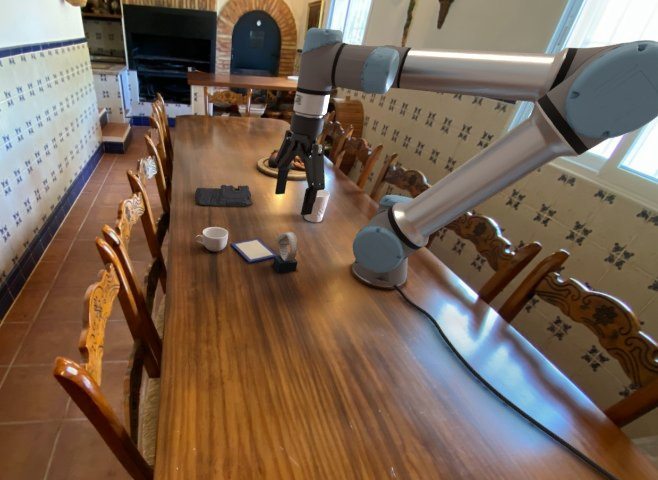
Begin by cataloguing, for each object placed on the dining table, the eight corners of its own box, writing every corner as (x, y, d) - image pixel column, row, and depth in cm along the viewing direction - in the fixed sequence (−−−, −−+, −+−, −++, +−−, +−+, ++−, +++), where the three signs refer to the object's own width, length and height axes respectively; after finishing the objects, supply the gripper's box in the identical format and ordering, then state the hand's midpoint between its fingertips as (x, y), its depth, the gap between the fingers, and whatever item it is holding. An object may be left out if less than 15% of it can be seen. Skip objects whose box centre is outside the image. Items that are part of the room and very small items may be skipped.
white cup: (323, 224, 131) (329, 197, 124) (301, 221, 132) (307, 194, 125) (323, 215, 137) (329, 190, 130) (303, 212, 138) (308, 187, 131)
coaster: (277, 257, 110) (277, 255, 110) (249, 263, 106) (249, 261, 106) (257, 239, 118) (257, 238, 118) (230, 245, 114) (230, 243, 114)
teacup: (226, 242, 116) (226, 226, 112) (228, 254, 110) (229, 238, 106) (195, 242, 114) (194, 226, 111) (195, 254, 108) (195, 238, 105)
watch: (288, 260, 109) (294, 226, 102) (298, 274, 103) (305, 240, 96) (270, 261, 108) (275, 228, 101) (279, 276, 102) (285, 241, 95)
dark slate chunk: (194, 191, 148) (194, 179, 145) (247, 192, 151) (248, 181, 148) (196, 206, 136) (196, 194, 133) (252, 207, 139) (254, 195, 136)
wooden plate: (327, 167, 185) (331, 150, 180) (311, 186, 162) (315, 167, 156) (269, 156, 194) (271, 140, 189) (246, 172, 171) (248, 154, 166)
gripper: (269, 102, 89) (258, 187, 102) (326, 128, 71) (305, 225, 85) (294, 103, 91) (281, 185, 105) (356, 127, 74) (331, 222, 87)
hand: (292, 203), depth 95 cm, fingers open, 13 cm apart
